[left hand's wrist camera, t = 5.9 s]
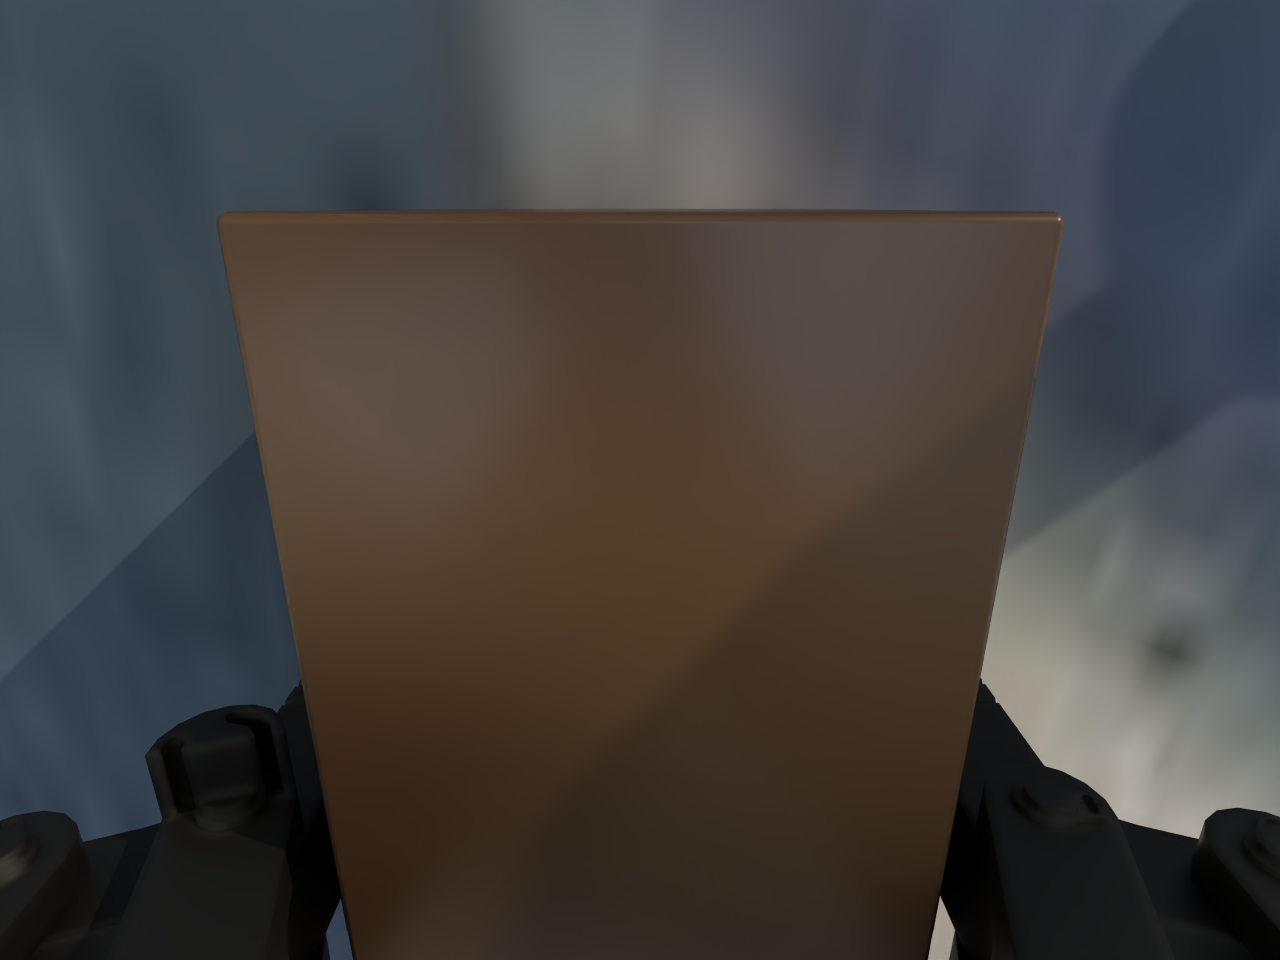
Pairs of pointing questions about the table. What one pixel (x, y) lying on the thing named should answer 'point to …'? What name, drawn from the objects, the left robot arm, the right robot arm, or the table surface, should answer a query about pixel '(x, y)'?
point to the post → (640, 560)
